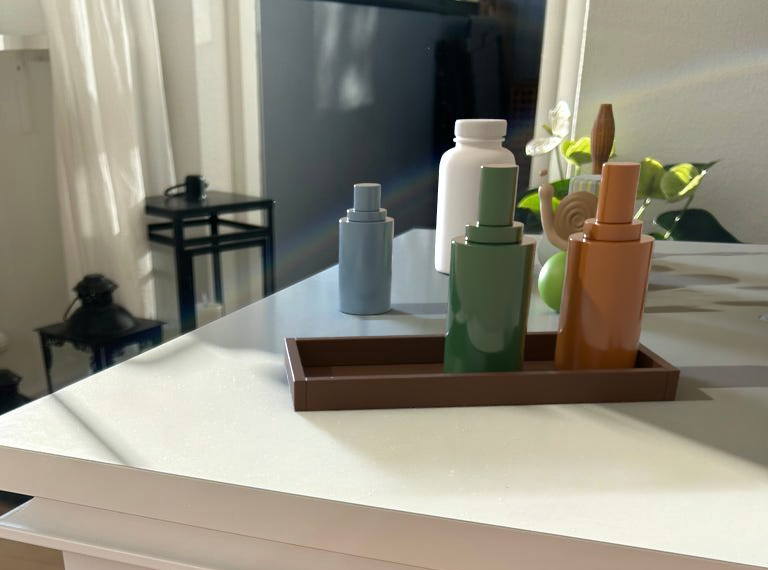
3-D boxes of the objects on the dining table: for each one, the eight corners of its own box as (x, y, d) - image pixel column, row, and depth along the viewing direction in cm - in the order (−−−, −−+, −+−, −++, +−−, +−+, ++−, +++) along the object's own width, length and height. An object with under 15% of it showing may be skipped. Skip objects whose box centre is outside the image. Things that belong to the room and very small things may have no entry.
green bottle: (510, 369, 75) (531, 161, 68) (530, 390, 71) (555, 169, 64) (435, 371, 75) (448, 162, 68) (450, 393, 70) (466, 170, 63)
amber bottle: (617, 366, 76) (648, 158, 69) (644, 387, 71) (681, 166, 64) (543, 368, 76) (566, 160, 69) (565, 390, 71) (593, 168, 64)
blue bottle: (386, 302, 100) (391, 181, 94) (394, 314, 95) (399, 187, 90) (335, 304, 99) (337, 182, 94) (340, 315, 95) (342, 188, 90)
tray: (615, 366, 79) (621, 329, 77) (673, 411, 69) (680, 370, 67) (284, 375, 78) (284, 337, 76) (294, 422, 68) (294, 380, 66)
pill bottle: (491, 263, 117) (503, 116, 110) (517, 275, 111) (531, 120, 103) (425, 266, 116) (432, 118, 109) (446, 279, 109) (456, 122, 102)
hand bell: (583, 264, 116) (602, 106, 108) (539, 253, 123) (554, 103, 115) (640, 258, 119) (664, 103, 111) (594, 247, 126) (613, 101, 118)
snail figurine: (535, 302, 99) (549, 166, 93) (601, 309, 96) (621, 169, 90) (516, 313, 95) (530, 172, 89) (585, 320, 92) (604, 175, 86)
